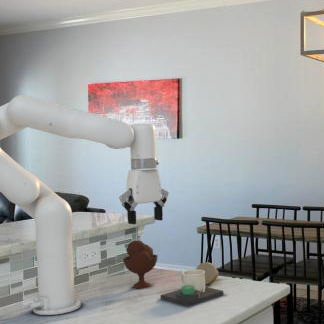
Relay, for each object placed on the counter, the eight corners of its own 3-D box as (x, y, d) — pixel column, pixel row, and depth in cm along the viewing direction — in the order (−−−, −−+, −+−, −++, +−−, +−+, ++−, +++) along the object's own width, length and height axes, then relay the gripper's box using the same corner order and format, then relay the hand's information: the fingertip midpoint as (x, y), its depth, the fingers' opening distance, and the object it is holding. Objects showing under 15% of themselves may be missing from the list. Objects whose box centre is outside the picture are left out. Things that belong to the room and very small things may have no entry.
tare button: (187, 296, 151) (187, 289, 151) (179, 294, 153) (179, 287, 153) (197, 293, 154) (197, 286, 154) (188, 291, 156) (188, 284, 156)
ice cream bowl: (152, 291, 168) (150, 243, 167) (118, 290, 170) (116, 243, 169) (164, 282, 178) (162, 237, 178) (132, 282, 180) (130, 237, 180)
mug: (224, 278, 181) (224, 256, 176) (212, 298, 173) (212, 275, 168) (203, 272, 183) (203, 249, 178) (190, 291, 176) (190, 268, 170)
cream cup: (193, 294, 157) (192, 276, 157) (177, 291, 161) (177, 272, 161) (210, 289, 162) (209, 271, 162) (194, 286, 167) (194, 268, 166)
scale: (187, 308, 149) (187, 297, 149) (158, 300, 158) (158, 290, 157) (225, 295, 160) (225, 285, 160) (196, 289, 168) (195, 279, 168)
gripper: (158, 163, 171) (160, 217, 172) (111, 166, 158) (113, 224, 159) (174, 163, 166) (176, 219, 167) (126, 166, 153) (128, 226, 154)
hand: (145, 222), depth 163 cm, fingers open, 9 cm apart
